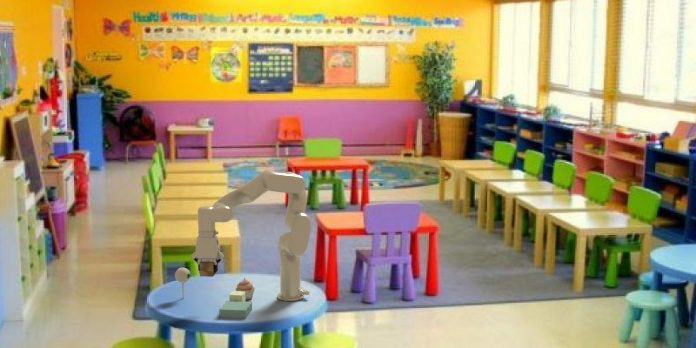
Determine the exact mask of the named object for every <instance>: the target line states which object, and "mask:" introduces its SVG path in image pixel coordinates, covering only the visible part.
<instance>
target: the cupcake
mask: <svg viewBox="0 0 696 348" xmlns="http://www.w3.org/2000/svg"><path fill="white" fill-rule="evenodd" d="M255 289H256V287H254V285H253V283H252V282H251V281H250V280H249V279H248V278H245V277H244V278H243V280H240V281H239V282H238V284H237V285H236V288H235V290H234V291H245V301H249V300H251V299H253V297H254V292H255Z"/></svg>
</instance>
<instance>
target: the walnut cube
mask: <svg viewBox="0 0 696 348" xmlns="http://www.w3.org/2000/svg"><path fill="white" fill-rule="evenodd" d="M216 274H217V272H216V273H214V262H213V259H202V261H201V263H200V273H199V277H207V278H208V277H210V278H211V277H214V276H215V275H216Z"/></svg>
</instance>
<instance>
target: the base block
mask: <svg viewBox="0 0 696 348" xmlns="http://www.w3.org/2000/svg"><path fill="white" fill-rule="evenodd" d="M252 310H253V302H252V301H245V302H238V301H230V300H226V301H225V302H224V303H223V304H222V306H221V307H220V308H219V311H218V312H219V318H227V317H229V318H228V319H231V318H232V319H233V318H234V319H247V318H248V316H249V315H250V313H251V312H252Z"/></svg>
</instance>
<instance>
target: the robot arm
mask: <svg viewBox="0 0 696 348" xmlns="http://www.w3.org/2000/svg"><path fill="white" fill-rule="evenodd" d="M306 186H307V183H306V180H305V178H304V177H303V176H301V175H299V174H297V173H294V172H292V171H285V172H284V173H279V172H275V171H273V170H271V169H265V170H263V171H261V172H259V173H258V174H257V175H256V176H255V177H253V178H252V179H251V180H249V181H248V182H247V183H245V184H243V185H242V186H241V187H239V188H238V187H237V188H236V189H235V190H233V191H231V192H229V193H226V194H225V195H224V196H222V197H221V198H220V199H218V200H217V201H215V202H214V203H213V204H212V206H211V205H203V206H200V207H198V209H197V227H198V228H197V229H198V234H197V235H198V236H197V237H196V243H195V244H196V245H195V250H194V252H193V253H192V254H191V255H190V257H191V258H192V259H193V260H194V262H195V263H196V264H197V270H198V271H199V274H200V263H201V262H202V261H203V260H213V262H214V273H216V274H217V272H218V270H219V267H218V266H219V263H220V262H221V261H222V260H223V259H224V258H225V255H224V254H223V252H222V251H220V244H219V243H220V241H219V237H218V235H219V231H218V230H216V223H229V222H230V221H231V220H232V219H233V217H234V212H233V209H235V208H236V207H239V206H241V205H245V204H250V203H253V202H255V201H256V200H257V199H259V198H260V197H261V196H263V195H264V194H265V193H267V192H268V191H272V192H276V193H285V194H287V195H288V202H287V207H286V213H285V217H284V224H285V226H286V227H287V228H288V229H290V231H284V232H283V233H281V235H280V236H279V238H278V242H277V243H278V244H277V245H278V251H279V264H280V265H279V282H280V283H279V284H280V286H279V288H280V290H279V291H280V292H279V293H278V294H276V298H277V299H278V300H280V301H284V302H285V301H286V302H295V301H296V302H297V301H301V300H302V299H303V298H305V296H310V293H311V292H310V290H308V289H303V287H302V286H301V257H302V256H303V255H304V254H305V253H306V251H307V249H308V245H309V241H310V236H311V230H312V221H311V219H310V217H309V215H308V214H306V210H307V208H306V207H307V202H308V201H307V200H308V198H307V197H308V196H307V191H306ZM218 257H219V258H218Z"/></svg>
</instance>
